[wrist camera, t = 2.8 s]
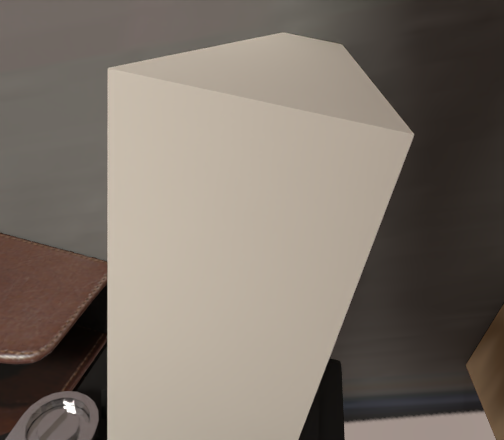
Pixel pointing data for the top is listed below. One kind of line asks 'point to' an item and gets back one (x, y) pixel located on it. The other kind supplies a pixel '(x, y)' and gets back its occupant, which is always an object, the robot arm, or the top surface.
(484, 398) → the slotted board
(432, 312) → the top surface
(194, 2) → the top surface
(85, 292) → the letter holder
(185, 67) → the cream angled block
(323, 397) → the robot arm
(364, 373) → the top surface
